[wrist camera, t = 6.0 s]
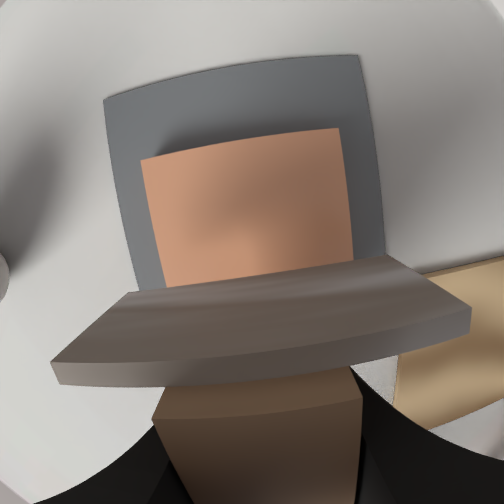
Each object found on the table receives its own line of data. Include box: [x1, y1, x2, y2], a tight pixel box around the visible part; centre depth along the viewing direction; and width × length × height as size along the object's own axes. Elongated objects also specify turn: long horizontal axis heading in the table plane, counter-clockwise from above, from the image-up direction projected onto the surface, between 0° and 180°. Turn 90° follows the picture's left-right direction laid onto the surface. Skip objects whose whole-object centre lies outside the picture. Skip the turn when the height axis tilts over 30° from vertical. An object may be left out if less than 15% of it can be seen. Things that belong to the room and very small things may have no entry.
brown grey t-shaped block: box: [50, 255, 472, 504], centre depth 8 cm, size 6×9×6 cm, turn 99°
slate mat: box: [103, 55, 385, 291], centre depth 14 cm, size 10×12×1 cm
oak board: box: [393, 256, 504, 430], centre depth 16 cm, size 12×12×1 cm
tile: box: [140, 128, 354, 287], centre depth 13 cm, size 1×8×7 cm
